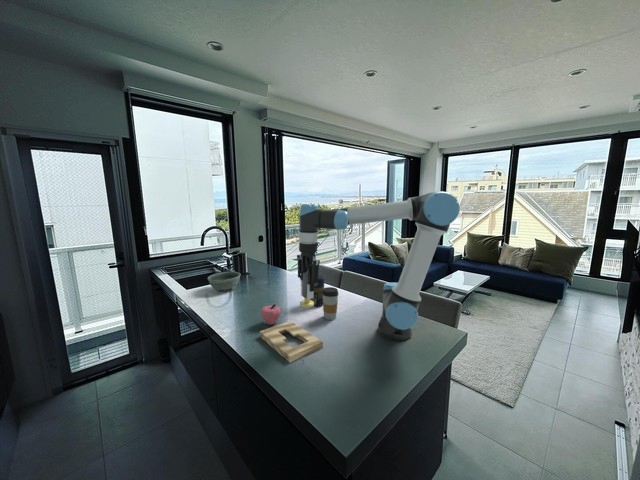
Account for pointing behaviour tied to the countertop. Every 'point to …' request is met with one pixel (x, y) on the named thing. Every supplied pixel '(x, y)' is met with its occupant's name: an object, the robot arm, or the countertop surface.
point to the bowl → (224, 280)
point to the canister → (318, 291)
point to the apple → (270, 314)
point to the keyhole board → (290, 354)
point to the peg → (306, 302)
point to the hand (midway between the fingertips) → (307, 296)
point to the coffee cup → (330, 302)
